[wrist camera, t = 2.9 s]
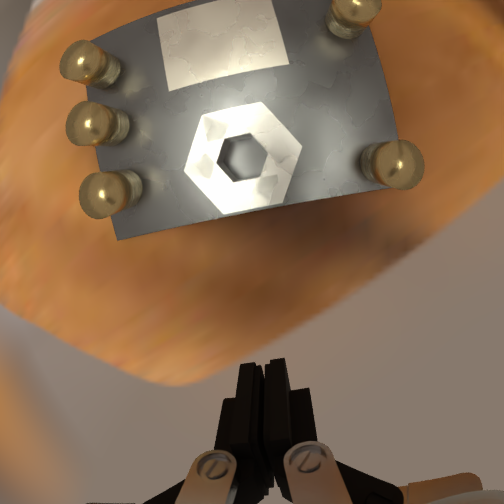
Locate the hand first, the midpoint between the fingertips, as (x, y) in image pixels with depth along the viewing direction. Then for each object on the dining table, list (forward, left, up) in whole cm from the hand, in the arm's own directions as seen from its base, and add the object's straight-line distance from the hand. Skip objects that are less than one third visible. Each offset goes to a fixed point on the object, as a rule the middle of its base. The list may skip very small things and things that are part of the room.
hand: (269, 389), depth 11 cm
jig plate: (-12, 0, -9) cm, 15 cm away
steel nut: (-8, 0, -8) cm, 12 cm away
